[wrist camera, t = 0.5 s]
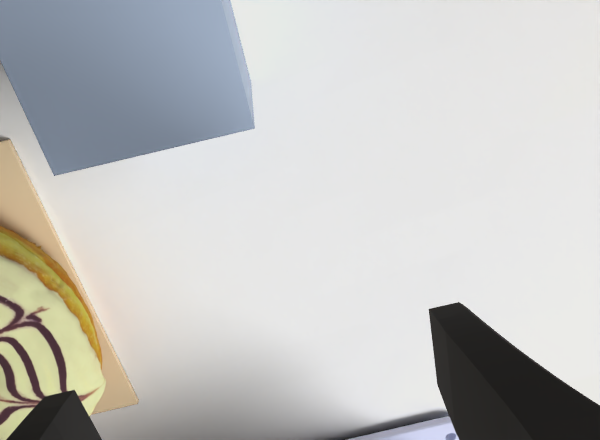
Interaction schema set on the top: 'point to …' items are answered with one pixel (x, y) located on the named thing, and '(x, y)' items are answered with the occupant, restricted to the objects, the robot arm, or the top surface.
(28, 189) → the letter card
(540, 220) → the top surface
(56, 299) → the decorated donut
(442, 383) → the robot arm
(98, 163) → the powder blue cube
